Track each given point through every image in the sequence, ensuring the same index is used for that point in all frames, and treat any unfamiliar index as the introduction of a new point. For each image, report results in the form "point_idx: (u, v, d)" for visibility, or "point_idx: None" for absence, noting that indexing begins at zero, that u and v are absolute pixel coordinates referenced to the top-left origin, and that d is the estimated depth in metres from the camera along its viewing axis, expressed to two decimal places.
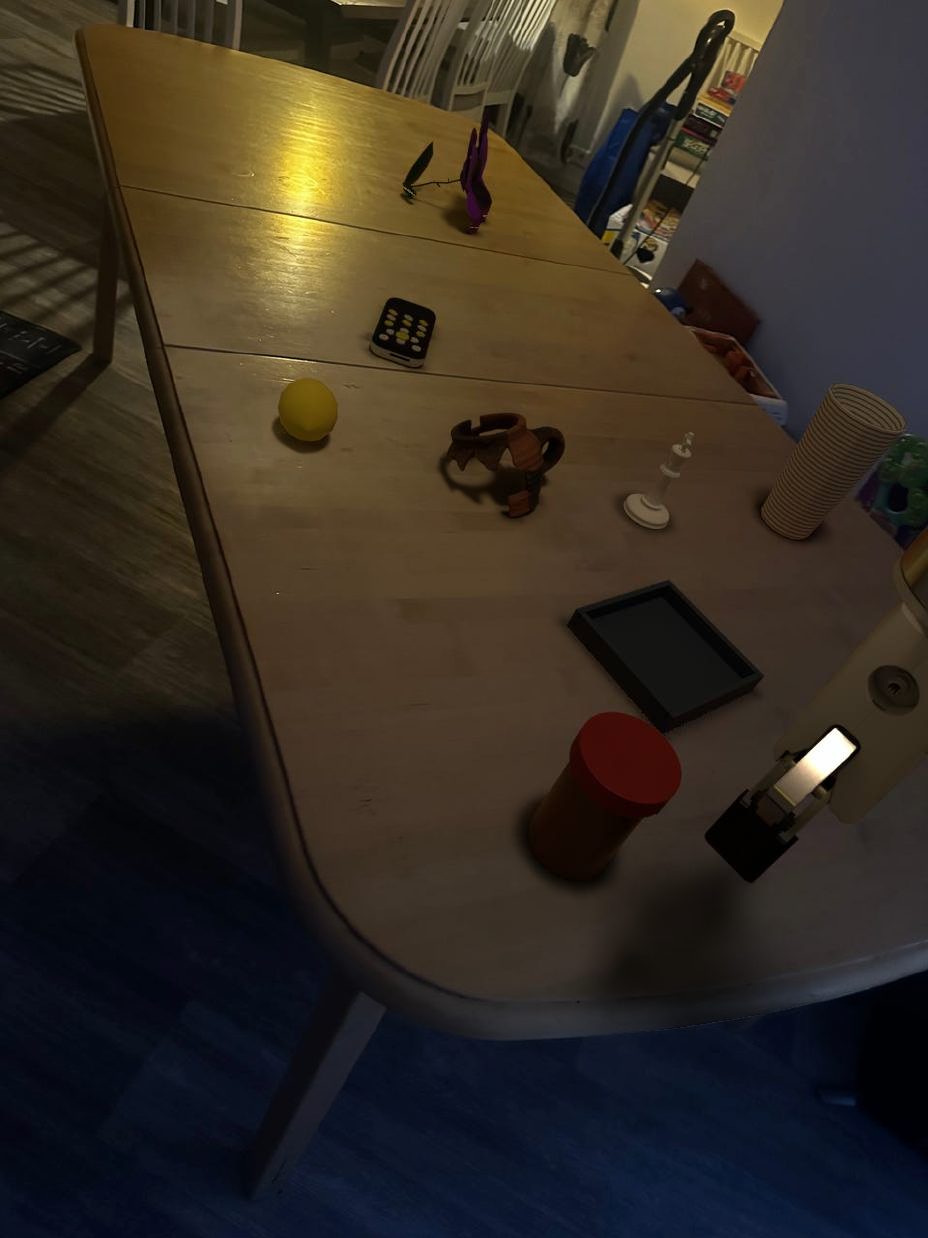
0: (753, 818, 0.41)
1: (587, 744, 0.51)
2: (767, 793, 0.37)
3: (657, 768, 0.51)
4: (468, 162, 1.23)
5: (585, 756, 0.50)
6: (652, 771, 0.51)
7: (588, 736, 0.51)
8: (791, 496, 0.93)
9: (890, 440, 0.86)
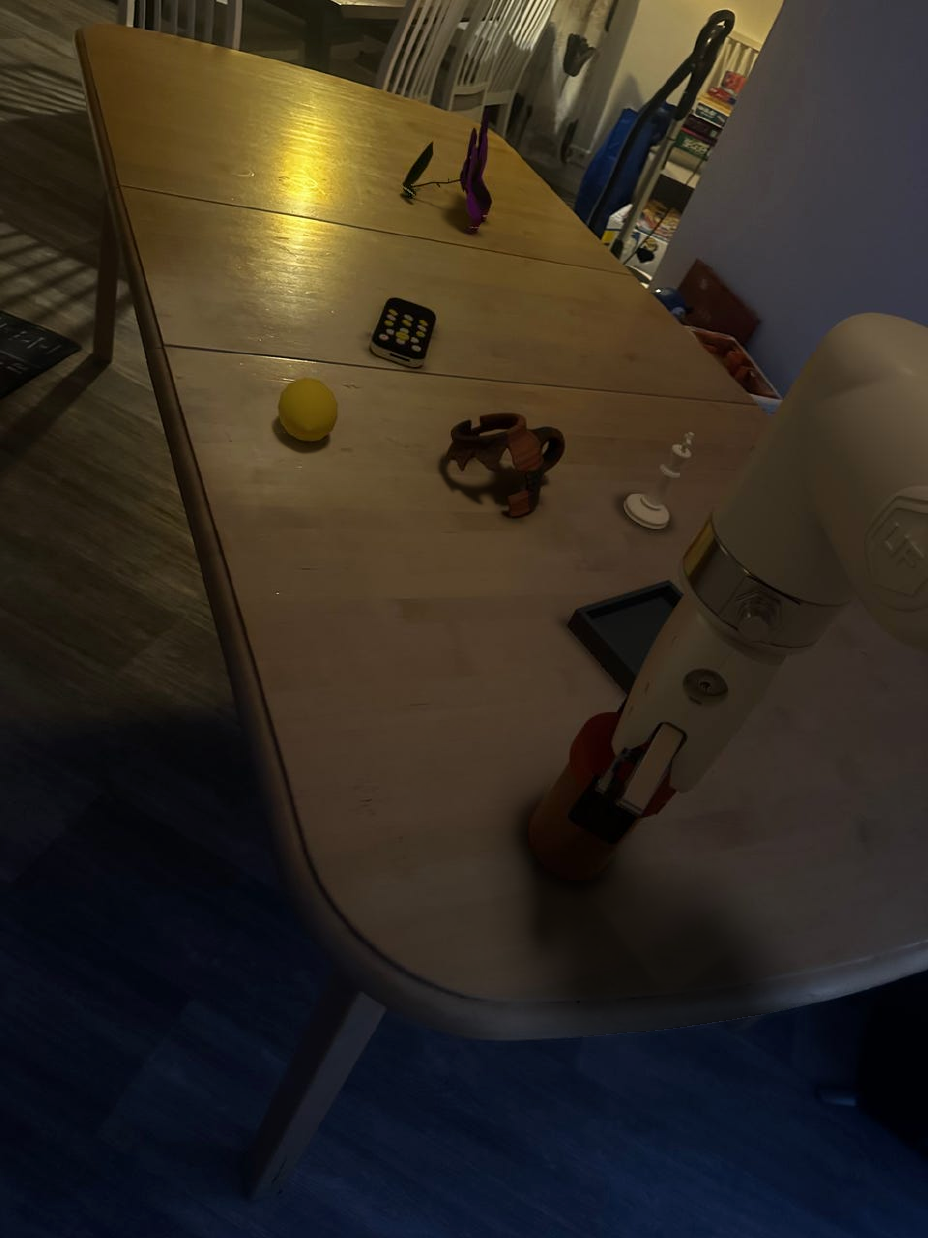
0: (608, 800, 0.47)
1: (587, 744, 0.51)
2: (618, 805, 0.43)
3: None
4: (468, 162, 1.23)
5: (585, 756, 0.50)
6: None
7: (588, 736, 0.51)
8: None
9: None
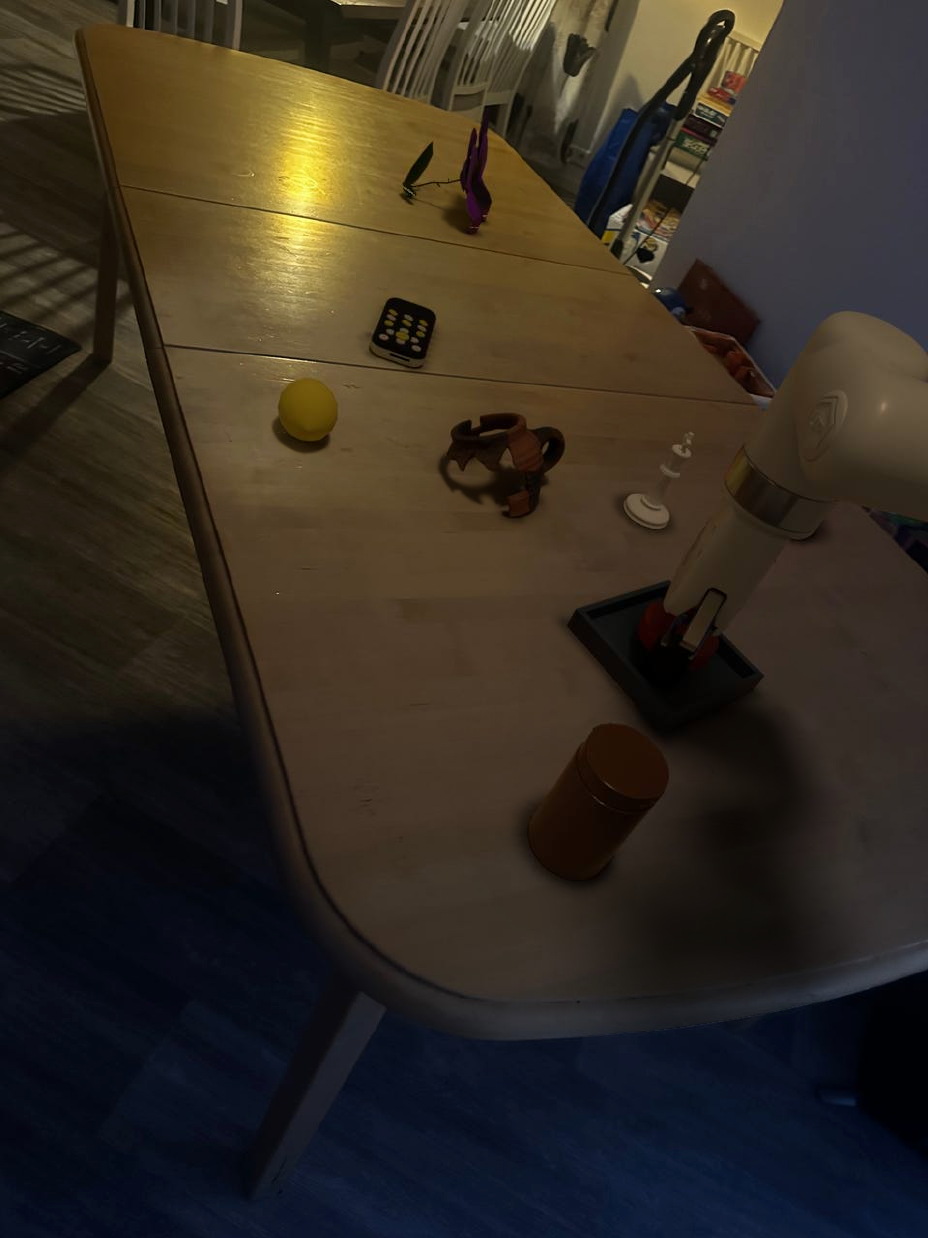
0: None
1: None
2: None
3: (663, 618, 0.72)
4: (468, 162, 1.23)
5: None
6: (666, 617, 0.72)
7: (713, 640, 0.71)
8: None
9: None
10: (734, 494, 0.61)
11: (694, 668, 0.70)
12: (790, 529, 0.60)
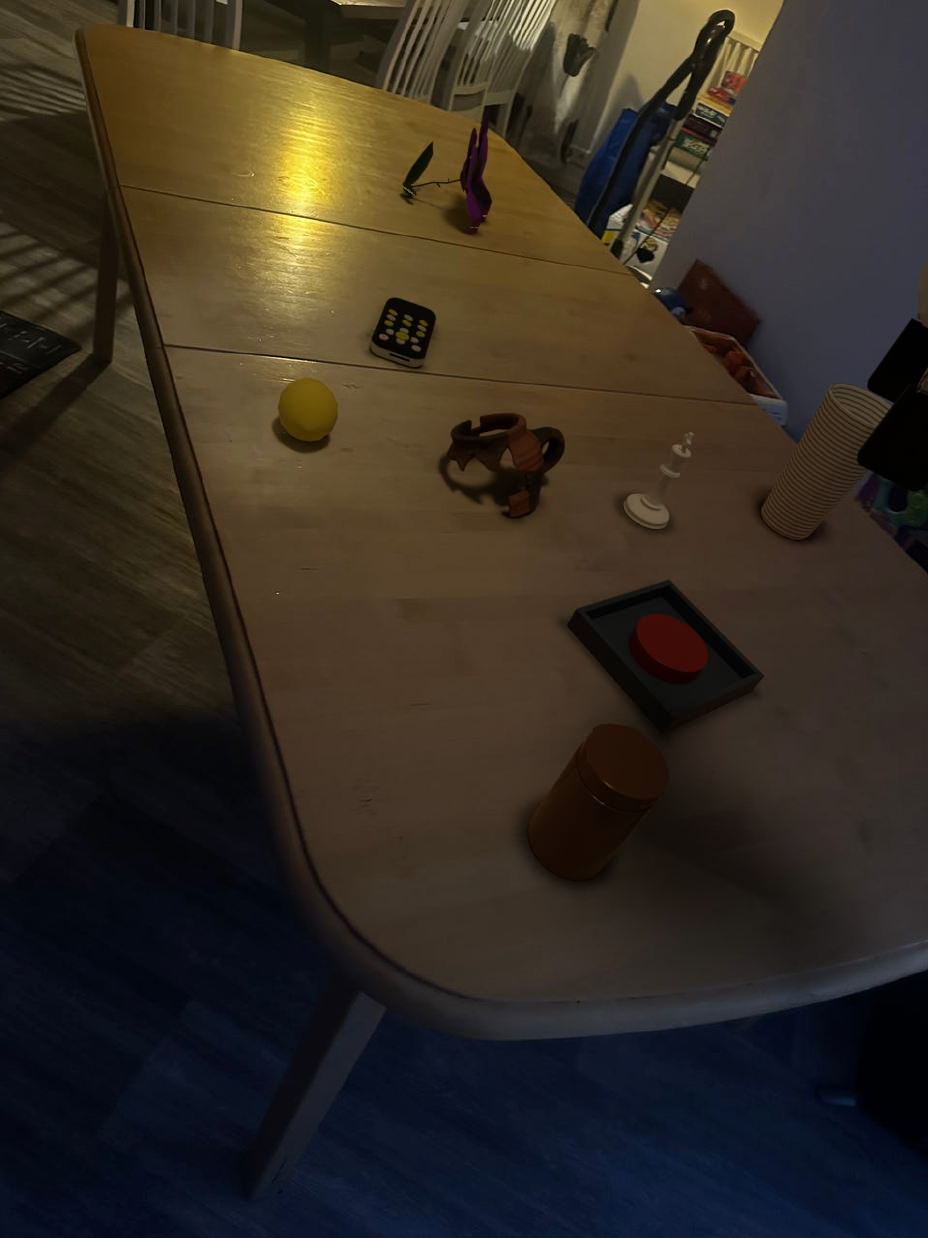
0: None
1: (702, 650, 0.73)
2: None
3: (653, 633, 0.73)
4: (468, 162, 1.23)
5: (702, 643, 0.74)
6: (657, 631, 0.73)
7: (702, 655, 0.73)
8: (791, 496, 0.93)
9: None
10: None
11: (683, 682, 0.72)
12: None
